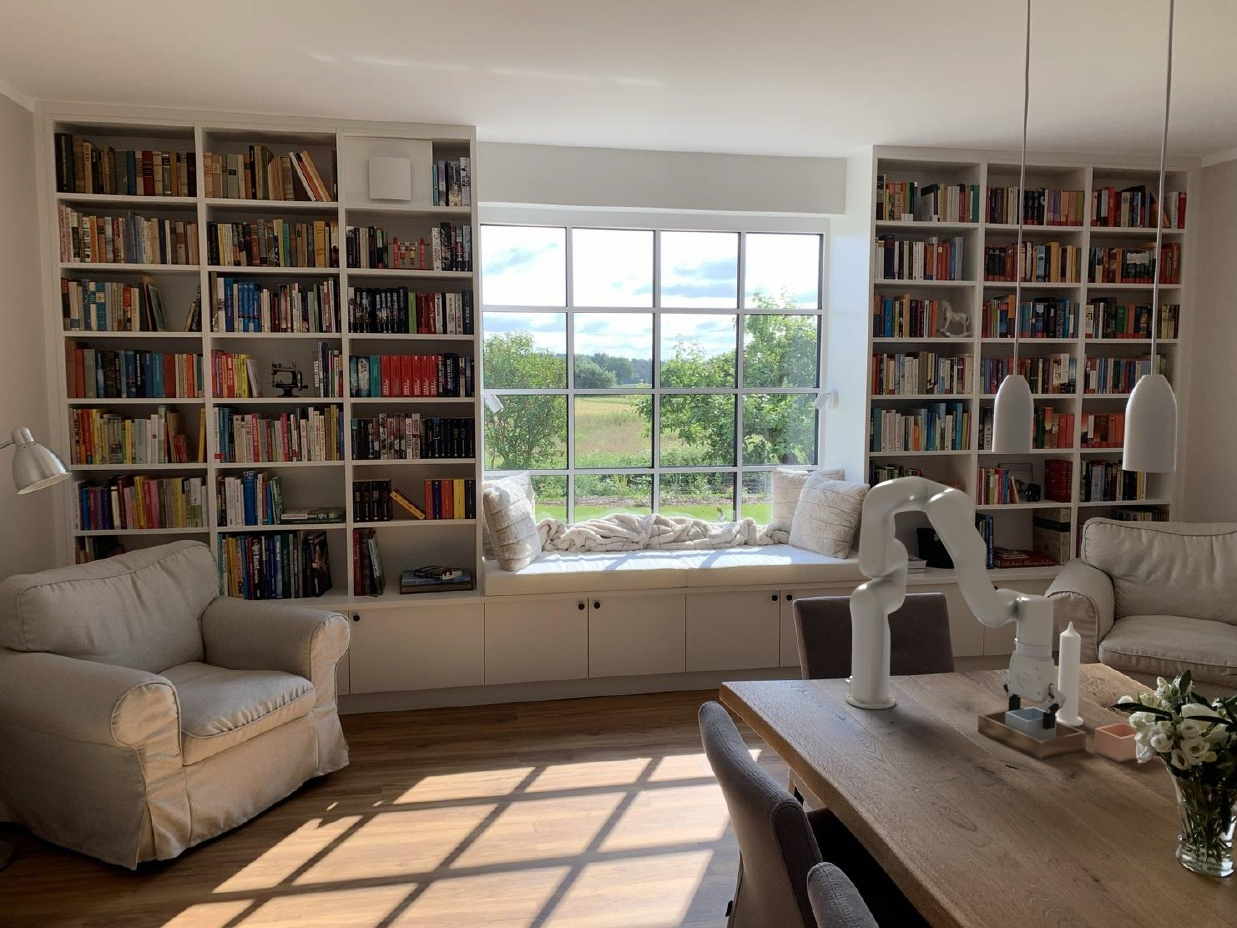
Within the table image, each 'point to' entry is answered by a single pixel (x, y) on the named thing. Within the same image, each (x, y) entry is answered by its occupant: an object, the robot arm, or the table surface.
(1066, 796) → the table surface
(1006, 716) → the bluegrey crate
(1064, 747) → the walnut crate
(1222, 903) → the table surface
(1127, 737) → the terracotta crate
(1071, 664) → the candle
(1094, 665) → the table surface
